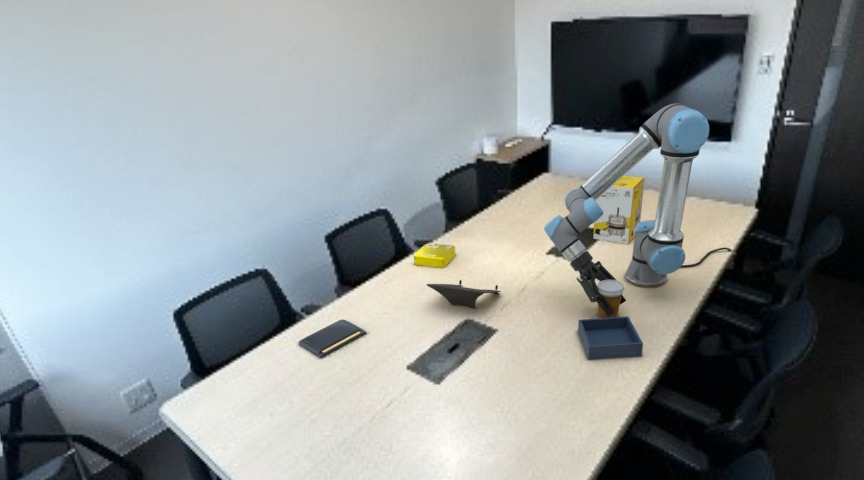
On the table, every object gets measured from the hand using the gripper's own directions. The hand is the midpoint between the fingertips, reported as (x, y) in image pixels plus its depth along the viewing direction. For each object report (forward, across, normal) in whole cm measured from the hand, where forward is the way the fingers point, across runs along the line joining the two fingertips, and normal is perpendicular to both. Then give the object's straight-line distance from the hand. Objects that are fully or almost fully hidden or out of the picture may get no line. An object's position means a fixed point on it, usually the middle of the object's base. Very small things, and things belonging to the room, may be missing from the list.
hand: (617, 308), depth 186 cm
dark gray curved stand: (-34, +17, -40) cm, 55 cm away
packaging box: (-19, -68, -25) cm, 75 cm away
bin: (+6, +16, 0) cm, 17 cm away
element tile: (-60, -6, -66) cm, 89 cm away
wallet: (-52, +64, -58) cm, 101 cm away
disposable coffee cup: (+1, 0, -5) cm, 5 cm away
